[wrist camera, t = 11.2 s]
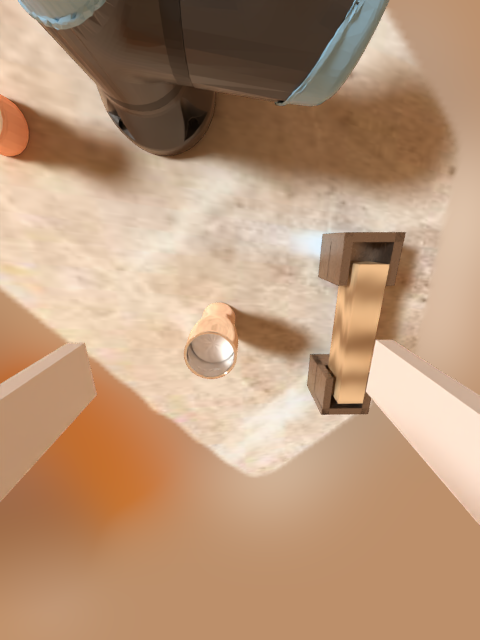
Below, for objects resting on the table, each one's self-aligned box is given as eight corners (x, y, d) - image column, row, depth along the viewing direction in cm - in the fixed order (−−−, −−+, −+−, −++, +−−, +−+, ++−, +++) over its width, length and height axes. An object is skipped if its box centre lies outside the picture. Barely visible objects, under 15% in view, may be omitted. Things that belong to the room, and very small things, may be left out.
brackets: (322, 234, 39) (344, 232, 31) (370, 233, 39) (405, 232, 31) (307, 385, 48) (321, 414, 40) (346, 385, 48) (367, 414, 40)
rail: (342, 261, 37) (359, 264, 31) (367, 261, 37) (389, 264, 31) (325, 384, 44) (338, 403, 38) (347, 383, 44) (362, 403, 38)
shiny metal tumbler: (241, 303, 43) (243, 335, 28) (234, 338, 45) (233, 384, 31) (202, 296, 42) (185, 325, 28) (197, 332, 44) (179, 376, 30)
